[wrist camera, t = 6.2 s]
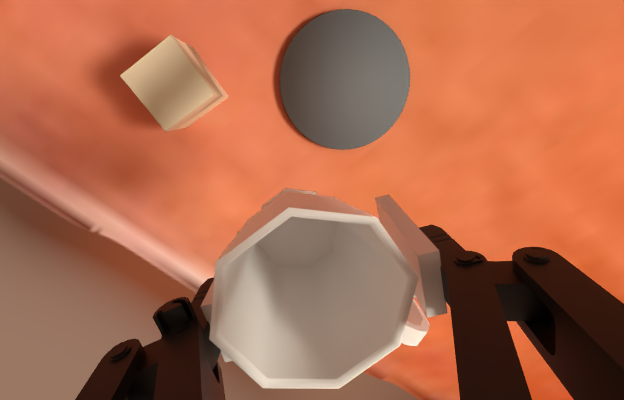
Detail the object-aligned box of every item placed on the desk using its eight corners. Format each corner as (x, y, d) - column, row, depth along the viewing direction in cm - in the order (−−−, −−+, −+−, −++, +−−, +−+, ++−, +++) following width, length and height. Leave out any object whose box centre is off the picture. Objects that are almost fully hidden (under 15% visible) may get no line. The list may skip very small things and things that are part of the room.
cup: (272, 138, 16) (275, 158, 8) (415, 223, 18) (521, 301, 11) (211, 246, 17) (162, 354, 9) (353, 313, 19) (409, 441, 12)
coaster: (264, 31, 26) (263, 29, 26) (397, -5, 26) (399, -8, 25) (298, 161, 30) (298, 162, 29) (415, 132, 30) (418, 132, 29)
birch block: (151, 81, 27) (119, 75, 23) (193, 47, 27) (170, 34, 22) (187, 127, 29) (165, 131, 24) (229, 96, 28) (214, 94, 23)
